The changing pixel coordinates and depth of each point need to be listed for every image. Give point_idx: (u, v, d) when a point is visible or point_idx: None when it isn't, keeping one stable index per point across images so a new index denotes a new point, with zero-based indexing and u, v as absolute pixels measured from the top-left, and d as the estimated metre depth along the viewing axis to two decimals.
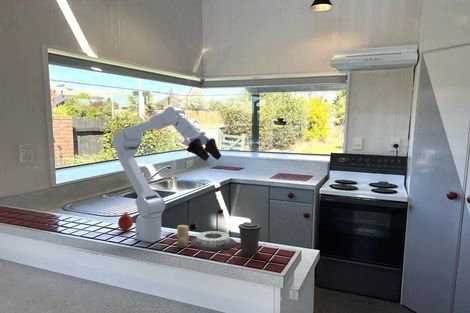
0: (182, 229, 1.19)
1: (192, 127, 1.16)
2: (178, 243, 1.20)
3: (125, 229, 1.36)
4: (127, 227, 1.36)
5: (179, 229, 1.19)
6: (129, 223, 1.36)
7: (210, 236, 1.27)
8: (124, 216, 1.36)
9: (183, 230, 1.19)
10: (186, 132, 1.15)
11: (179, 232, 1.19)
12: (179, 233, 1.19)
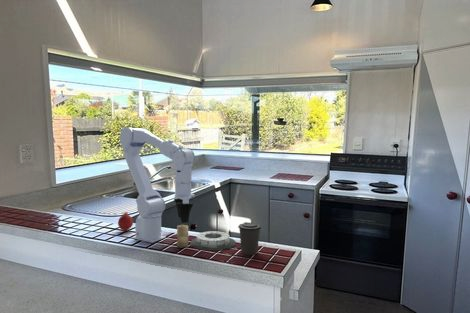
0: (182, 229, 1.19)
1: (190, 184, 1.20)
2: (178, 243, 1.20)
3: (125, 229, 1.36)
4: (127, 227, 1.36)
5: (179, 229, 1.19)
6: (129, 223, 1.36)
7: (210, 236, 1.27)
8: (124, 216, 1.36)
9: (183, 230, 1.19)
10: (185, 185, 1.17)
11: (179, 232, 1.19)
12: (179, 233, 1.19)
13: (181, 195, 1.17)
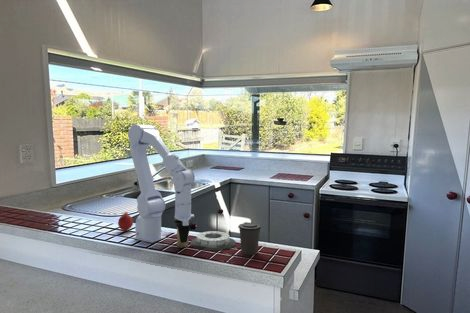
0: None
1: (190, 205, 1.20)
2: (178, 243, 1.20)
3: (125, 229, 1.36)
4: (127, 227, 1.36)
5: None
6: (129, 223, 1.36)
7: (210, 236, 1.27)
8: (124, 216, 1.36)
9: None
10: (185, 207, 1.18)
11: None
12: None
13: (181, 216, 1.18)
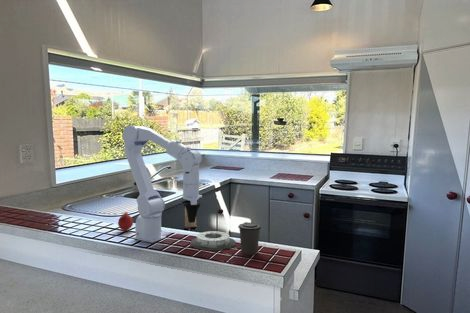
0: None
1: (198, 185, 1.20)
2: (186, 223, 1.20)
3: (125, 229, 1.36)
4: (127, 227, 1.36)
5: None
6: (129, 223, 1.36)
7: (210, 236, 1.27)
8: (124, 216, 1.36)
9: None
10: (193, 187, 1.18)
11: None
12: None
13: (189, 196, 1.18)
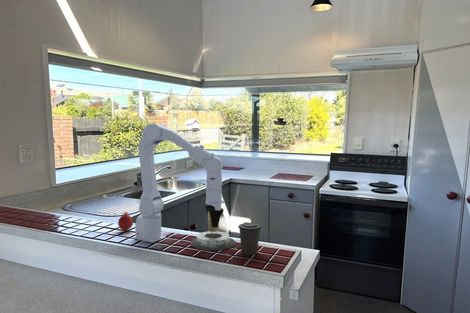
0: None
1: (221, 191, 1.23)
2: (209, 228, 1.23)
3: (125, 229, 1.36)
4: (127, 227, 1.36)
5: None
6: (129, 223, 1.36)
7: (210, 236, 1.27)
8: (124, 216, 1.36)
9: None
10: (216, 192, 1.21)
11: None
12: (210, 218, 1.22)
13: (212, 202, 1.21)
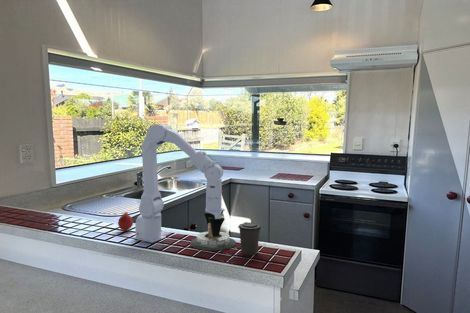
0: None
1: (221, 199, 1.23)
2: None
3: (125, 229, 1.36)
4: (127, 227, 1.36)
5: (210, 226, 1.22)
6: (129, 223, 1.36)
7: None
8: (124, 216, 1.36)
9: None
10: (216, 201, 1.21)
11: (210, 229, 1.22)
12: (210, 230, 1.22)
13: (212, 210, 1.21)
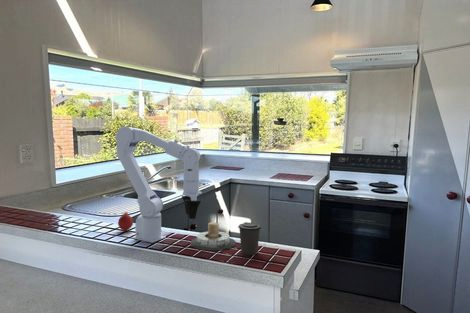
0: (213, 226, 1.22)
1: (198, 182, 1.25)
2: None
3: (125, 229, 1.36)
4: (127, 227, 1.36)
5: (210, 226, 1.22)
6: (129, 223, 1.36)
7: None
8: (124, 216, 1.36)
9: (214, 227, 1.22)
10: (193, 183, 1.23)
11: (210, 229, 1.22)
12: (210, 230, 1.22)
13: (189, 192, 1.23)
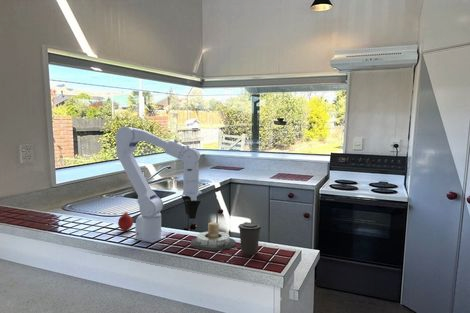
0: (213, 226, 1.22)
1: (198, 182, 1.25)
2: None
3: (125, 229, 1.36)
4: (127, 227, 1.36)
5: (210, 226, 1.22)
6: (129, 223, 1.36)
7: None
8: (124, 216, 1.36)
9: (214, 227, 1.22)
10: (193, 183, 1.23)
11: (210, 229, 1.22)
12: (210, 230, 1.22)
13: (189, 192, 1.23)
